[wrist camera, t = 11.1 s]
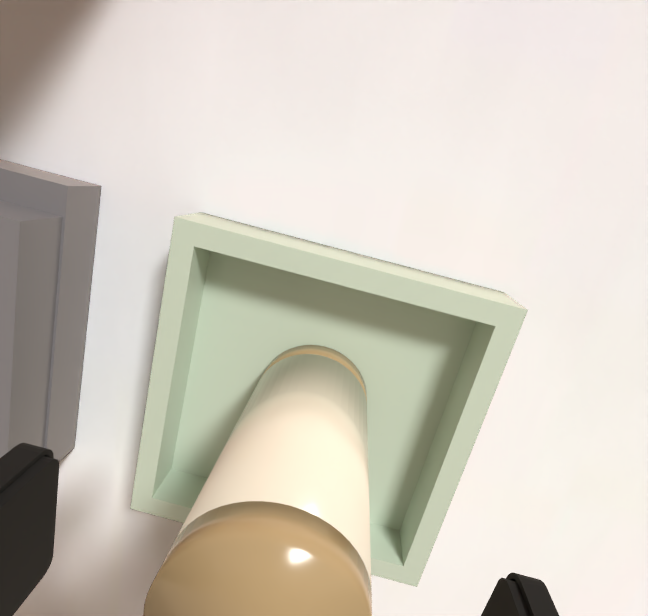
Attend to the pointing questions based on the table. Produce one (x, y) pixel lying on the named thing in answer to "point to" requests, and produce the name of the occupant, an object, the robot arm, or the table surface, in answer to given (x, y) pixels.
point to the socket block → (43, 303)
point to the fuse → (281, 503)
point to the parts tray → (333, 332)
